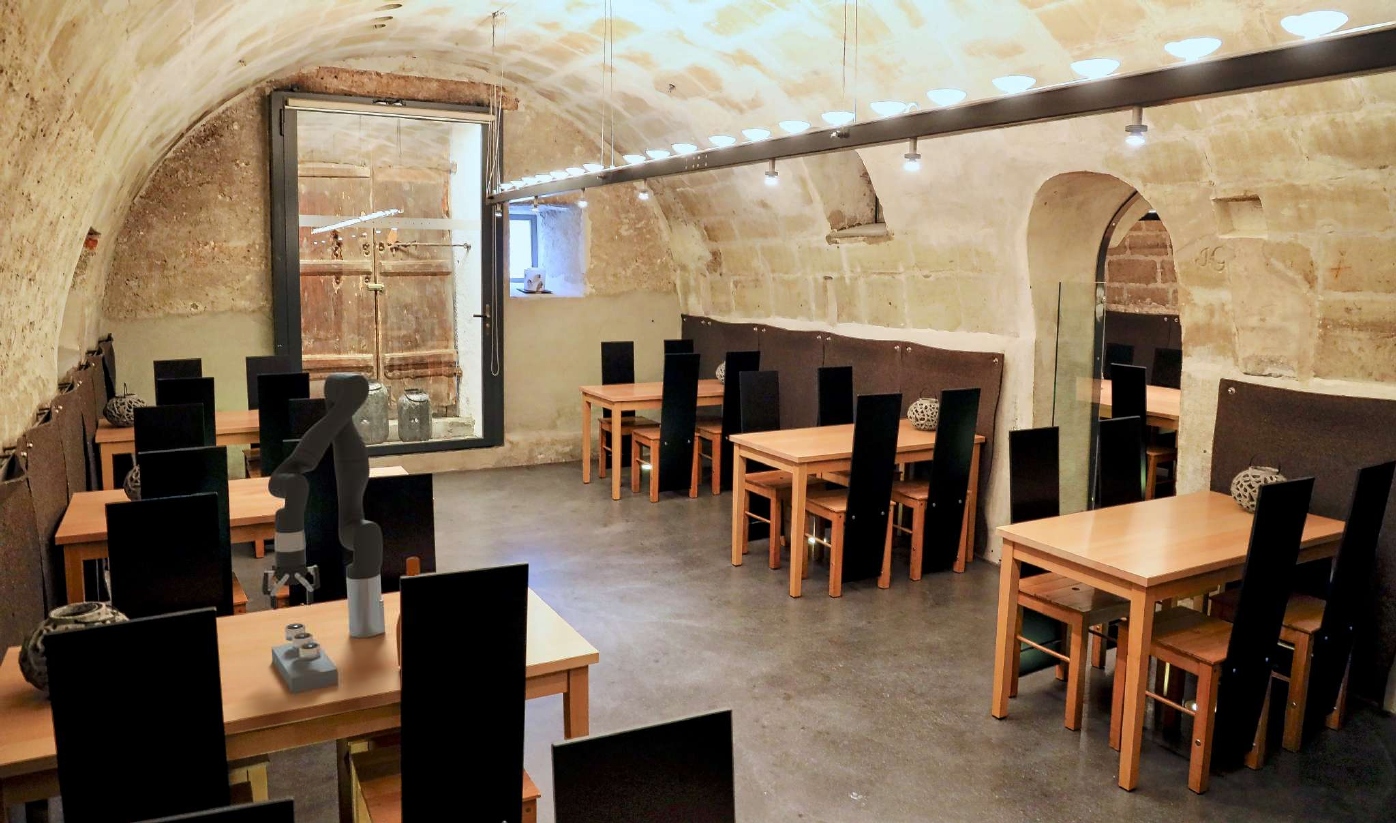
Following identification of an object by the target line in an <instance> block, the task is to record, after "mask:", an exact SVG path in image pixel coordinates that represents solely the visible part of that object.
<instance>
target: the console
mask: <svg viewBox="0 0 1396 823" xmlns="http://www.w3.org/2000/svg"><path fill="white" fill-rule="evenodd" d="M313 643H318V642H317V640H316V639H315V638H313ZM320 648H321V658H319V659H317V660H314V661H308V662H305V661H301V660H300V653H299V651H295V650H293V647H292V642H290V643H286V644H280V645H277V646H271V657H272V660H271V661H272V663H273V665H274V666H275V667H276V670H277V671H278V673H279V674H280V676H281V677H283V678H282V680H283V681H284V682H285V684H286V685H287V687H288V689H289V691H290V692H291V693H292V695H294V694H298V693H303V692H307V691H311V690H317V689H321V688H326V687H330V686H336V685H338V684H339V676H338V675H339V673H338V671H339V670H338V667H337V666H336V665H335V663H334V662H333V661H332V660H331V659H330V657H329V656H328V654H326V652H325V651H324V649H323V648H322V647H321V646H320Z"/></svg>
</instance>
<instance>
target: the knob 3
mask: <svg viewBox="0 0 1396 823" xmlns="http://www.w3.org/2000/svg"><path fill="white" fill-rule="evenodd" d="M320 647H321V644H320V643H318V642H317V643H307V644H303V645H301V646H300V647H299V653H300V660H301V661H305V662H308V661H314V660H317V659H319V658H321V648H322V647H321V648H320Z"/></svg>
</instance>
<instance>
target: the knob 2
mask: <svg viewBox="0 0 1396 823" xmlns="http://www.w3.org/2000/svg"><path fill="white" fill-rule="evenodd" d="M313 636H314V635H313V633H311V632H306V633H299V634H296V635H294V636H292V641H291V643H292V647H293V650H295V651H299V647H300V646H301V645H303V644H307V643H313V639H314V638H313Z"/></svg>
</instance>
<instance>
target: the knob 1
mask: <svg viewBox="0 0 1396 823" xmlns="http://www.w3.org/2000/svg"><path fill="white" fill-rule="evenodd" d="M284 633H285V636H284V637H285V640H286V641H289V642H292V636H294V635H296V634H299V633H307V632H306V624H304V623H302V622H301V623H297V622H296V623H292V624H289V625H286V626H285V627H284Z"/></svg>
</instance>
